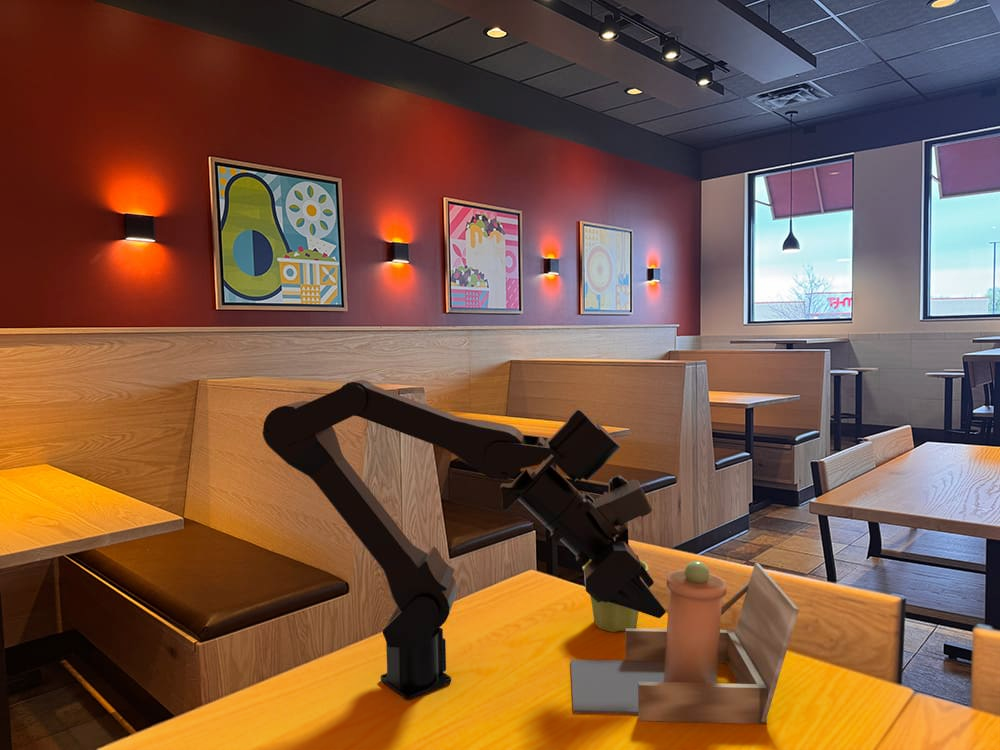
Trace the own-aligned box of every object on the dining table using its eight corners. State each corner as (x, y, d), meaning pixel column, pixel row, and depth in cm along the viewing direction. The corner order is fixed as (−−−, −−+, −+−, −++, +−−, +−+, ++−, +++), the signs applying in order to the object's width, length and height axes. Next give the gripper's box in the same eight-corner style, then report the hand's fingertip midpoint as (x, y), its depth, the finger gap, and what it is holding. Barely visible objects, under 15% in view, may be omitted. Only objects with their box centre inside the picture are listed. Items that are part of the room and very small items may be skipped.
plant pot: (630, 644, 95) (629, 581, 95) (570, 627, 101) (570, 568, 100) (659, 621, 103) (659, 562, 102) (602, 606, 108) (602, 551, 108)
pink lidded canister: (697, 708, 79) (706, 575, 78) (648, 683, 84) (656, 558, 83) (730, 690, 83) (739, 564, 82) (682, 667, 88) (690, 548, 87)
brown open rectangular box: (639, 720, 77) (638, 606, 76) (624, 655, 92) (624, 559, 91) (797, 724, 75) (798, 608, 75) (756, 658, 91) (757, 560, 90)
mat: (573, 712, 78) (573, 710, 78) (570, 661, 90) (570, 659, 90) (682, 715, 78) (682, 712, 78) (665, 663, 90) (665, 661, 89)
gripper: (616, 476, 73) (724, 580, 73) (603, 446, 92) (690, 529, 91) (541, 550, 74) (649, 653, 74) (544, 506, 93) (629, 588, 93)
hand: (656, 599), depth 83 cm, fingers open, 9 cm apart
